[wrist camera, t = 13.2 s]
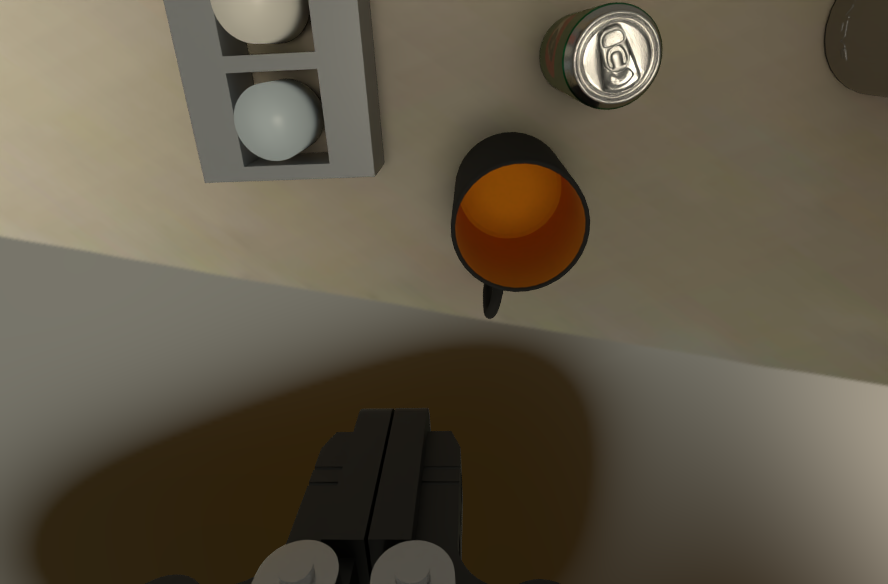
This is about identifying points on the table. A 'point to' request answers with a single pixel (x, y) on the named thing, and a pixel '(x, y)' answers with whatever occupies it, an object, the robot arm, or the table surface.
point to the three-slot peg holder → (230, 70)
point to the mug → (516, 216)
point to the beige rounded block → (262, 19)
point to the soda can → (603, 55)
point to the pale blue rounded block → (278, 118)
